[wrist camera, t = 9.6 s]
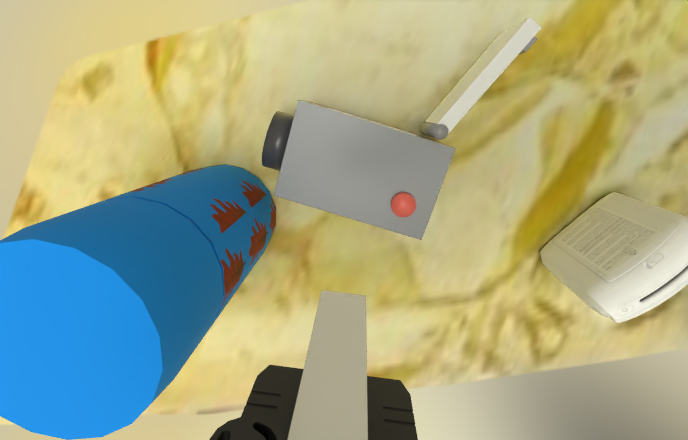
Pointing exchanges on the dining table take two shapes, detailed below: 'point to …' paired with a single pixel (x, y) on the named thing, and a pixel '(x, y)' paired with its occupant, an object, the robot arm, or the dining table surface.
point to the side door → (480, 77)
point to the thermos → (122, 297)
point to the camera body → (356, 167)
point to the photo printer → (621, 256)
